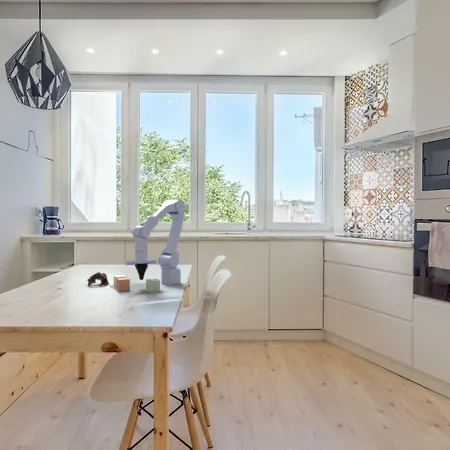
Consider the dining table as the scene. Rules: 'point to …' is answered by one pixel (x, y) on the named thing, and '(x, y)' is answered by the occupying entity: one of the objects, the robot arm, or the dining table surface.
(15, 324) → the dining table surface
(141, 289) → the board
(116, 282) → the cream cube
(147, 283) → the sage cube
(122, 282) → the terracotta cube
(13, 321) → the dining table surface
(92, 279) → the dark brown arched piece
